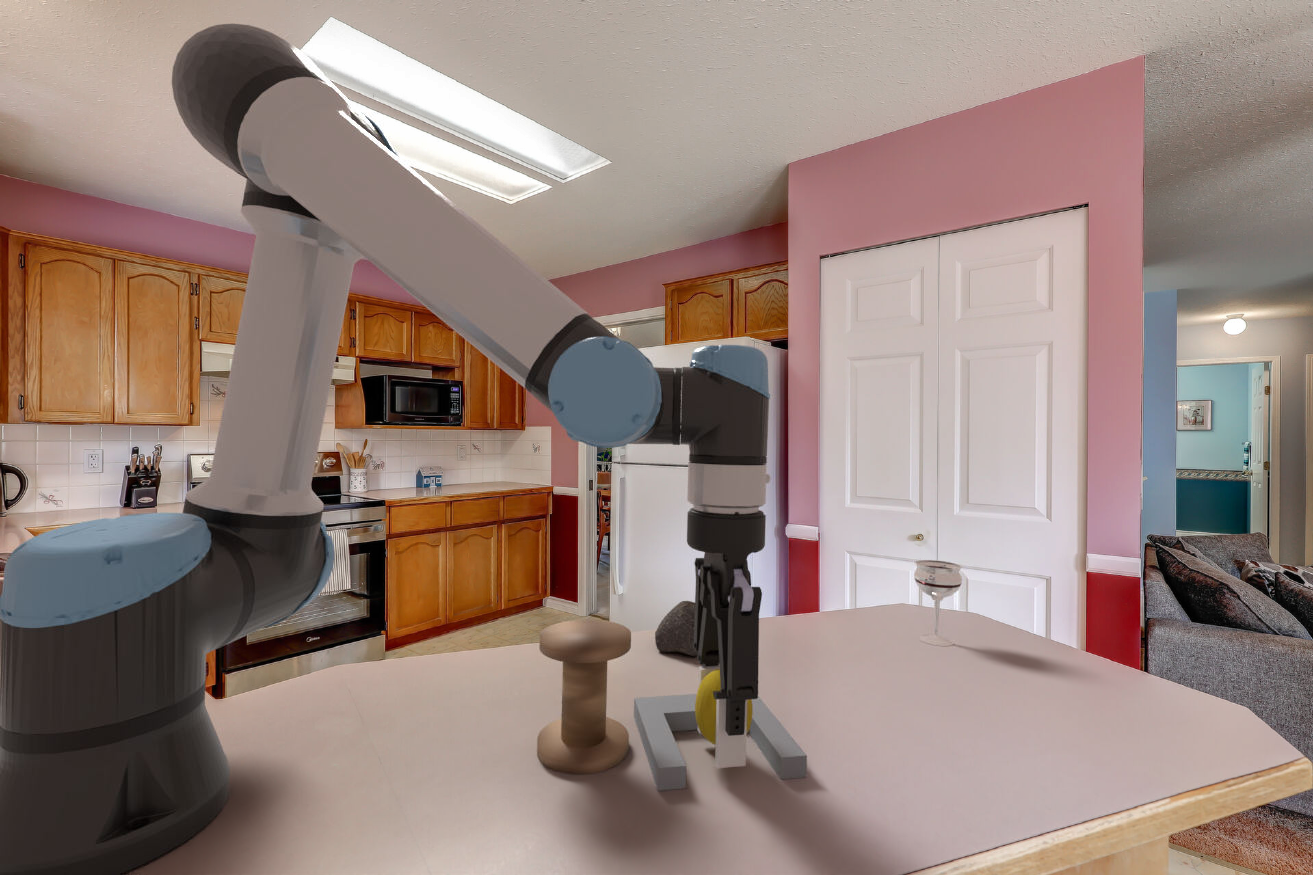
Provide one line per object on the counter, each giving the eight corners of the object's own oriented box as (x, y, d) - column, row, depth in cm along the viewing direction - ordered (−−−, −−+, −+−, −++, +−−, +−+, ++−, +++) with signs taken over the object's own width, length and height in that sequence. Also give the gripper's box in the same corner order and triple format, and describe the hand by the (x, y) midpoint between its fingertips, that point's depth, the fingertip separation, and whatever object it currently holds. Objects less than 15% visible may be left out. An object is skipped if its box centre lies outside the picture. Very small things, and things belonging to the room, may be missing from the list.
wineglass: (959, 637, 94) (960, 562, 94) (961, 650, 88) (963, 571, 88) (912, 630, 97) (914, 558, 97) (912, 643, 91) (914, 566, 91)
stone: (657, 663, 91) (635, 632, 84) (684, 616, 95) (665, 583, 88) (712, 690, 85) (692, 659, 78) (738, 639, 89) (722, 605, 83)
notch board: (657, 790, 52) (658, 767, 52) (633, 715, 65) (634, 697, 65) (806, 776, 54) (806, 755, 54) (753, 707, 68) (753, 690, 68)
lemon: (750, 768, 54) (752, 681, 54) (690, 760, 55) (692, 675, 55) (752, 738, 59) (754, 658, 59) (698, 731, 60) (699, 654, 60)
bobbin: (536, 778, 53) (539, 652, 53) (537, 728, 62) (540, 621, 62) (634, 769, 55) (637, 647, 55) (622, 723, 64) (624, 618, 64)
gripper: (804, 521, 49) (797, 802, 49) (733, 497, 67) (728, 701, 67) (716, 521, 47) (709, 810, 47) (668, 497, 65) (663, 705, 65)
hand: (720, 746), depth 57 cm, fingers closed on lemon, 5 cm apart
